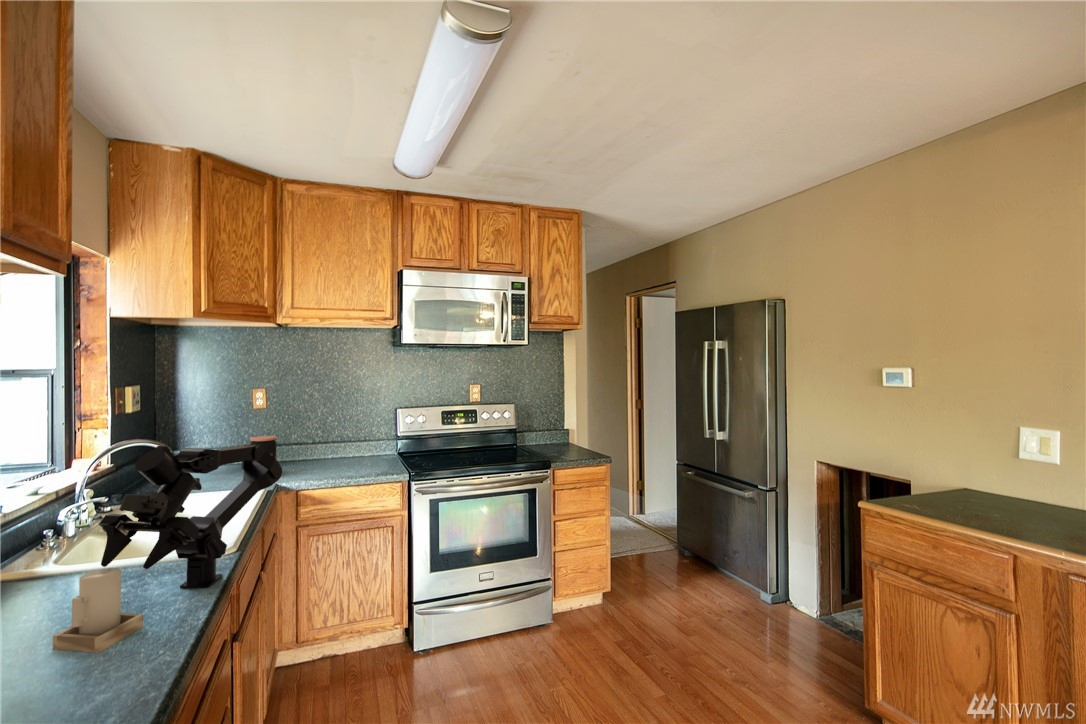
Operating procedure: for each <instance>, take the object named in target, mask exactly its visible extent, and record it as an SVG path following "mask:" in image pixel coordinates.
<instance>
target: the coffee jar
mask: <svg viewBox="0 0 1086 724" xmlns="http://www.w3.org/2000/svg"><path fill="white" fill-rule="evenodd" d="M249 439H250V440H249V441H250V444H249V445H259V446H261V447H263V449H264V450H265V452H267V453H268V454H270V455H271V456H273V457H274V458H275V459H276V460H277V441H276V440H277V436H275V435H263V436H262V435H259V436H252V437H250V438H249ZM252 461H256V460H252Z"/></svg>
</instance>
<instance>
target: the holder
mask: <svg viewBox="0 0 1086 724" xmlns="http://www.w3.org/2000/svg"><path fill="white" fill-rule="evenodd" d="M143 628H144V614H143V613H129V612H121V621H120V625H119V626H117V627H115V628H113V629H111V630H110V631H108V632H106V633H104V634H102V635H100V636H88V635H79V627H72V625H71V626H70V627H68V628H65V629H63V630H61V631H59V632H57V633H55V634H54V635H52V650H57V651H70V652H71V651H72V652H84V653H96V654H99V653H101V652H103V651H104V650H106V649H108V648H110V647H112V646H113V645H114V644H117V643H118V642H119V641H122V640H123V639H125V638H126V637H128V636H131V635H132V634H134V633H135V632H137V631H138V630H141V629H143Z"/></svg>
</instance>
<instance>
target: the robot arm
mask: <svg viewBox="0 0 1086 724" xmlns="http://www.w3.org/2000/svg"><path fill="white" fill-rule="evenodd" d="M252 460H256V461H252ZM237 463H241V469H242V470H243V475H242V480H241V482H240V483H238V484H237V485H236V486H235V487H234V488H233V489H232V490H231V491H230V492H229V493H228V494H227V495H226V496H225V497H223V499H221V500H220V502H218V504H217V505H216V506H214V507H213V508H212V509H211V510H210V511H209V513H207V514H206V515H204V516H196V515H192V516H191V517H190V518H189V517H188V516H177V514H179V513H180V514H182V513H183V512H184V511H185V509H186V508H185V507H184V506H183V505H184V503H185V501H186V500H187V499H188V497H189V495H190V494H191V492H192V491H201V490H202V489H203V487H202V484H201V480H200V479H201V478H199V477H194V476H193V475H192V474H202V475H203V474H209V473H211V472H214V471H217V470H218V469H219V467H222V466H227V465H231V464H237ZM134 468H135V470H136V471H138V472H139V473H140V474H141V475H142V476H143V477H144V478H145V479H146V480H147V481H149V482H150V483H151V484H152V485H154V486H156V487H158V486H160V487H159V488H158V490H157V491H152V492H151V494H148V495H147V494H146V495H145V494H130V493H129V494H125V495H124V496H123V499H122V501H121V504H120V507H119V511H120V512H124V511H126V512H131V513H132V514H131V516H132V517H133V518H136V519H137V520H133V519H131V518H130V517H129V515H127V514H124V513H108V514H106V515H104V517H102V519H101V521H100V522H99V523H98V525H99V526H100V527H101V528H102V531H104V532H105V533H106V543H105V548H104V551H103V555H102V558H101V562H100V565H101V567H103V568H106V567H107V566H109V564H111V563H112V562H113V561H114V560H115V559H116V558H117V557H118V556H119V554H121V553H122V551H124V549H126V547H127V546H129V544H130V543H132V541H133V540H132V537H134V536H135V535H136V534H137V532H148V533H149V532H150V533H151V532H154V533H159V534H158V538H157V539H158V540H157V541H156V543H155V544H154V546H153V548H152V549H151V551H150V553H149V554H148V556H147V557H146V559H145V562H144V564H143V566H142V568H143V569H145V570H148V569H150V568H151V567H153V566H154V565H155V564H157V563H158V562H159V561H161V560H162V559H164V558H165V557H166V556H168V555H169V554H171V553H172V552H174V551H175V552H176V556H177V558H178V560H179V559H184V560H185V559H186V560H187V561H186V562H187V563H186V581H184V582H183V583H182V584H181V583H180V585H179V588H180V589H185V588H186V589H188V588H189V589H194V588H196V589H197V588H209V587H211V586H212V585H213V584H215V583H216V582H218V581H219V580H220V579H221V578H222V577H223V574H221V573H219V574H218V573H217V559H220V558H222V556H223V555H225V554H226V551H227V548H228V544H227V543H226V542H225V541H223V540H222V536H223V529H224V527H226V525H228V523H230V522H231V520H232V519H234V517H235V516H236V515H237V514H238V513H239V512H240V511H241V510H242V509H244V507H245V506H246V504H248V502H250V501H251V500H252V498H254V497H255V496H256V494H258V493H259V492H260V491H262V490H264V489H267V488H270V487H271V486H274V484H276V483H277V482H278V481H279V480H280V478H281V477H282V475H283V467H282V466H281V464H280V462H278V460H277V458H276V459H275V458H274V457H273V456H271V455H270V454H268V453H267V452H265V450H264V449H263V447H261V446H259V445H250V444H244V445H239V446H233V447H224V448H223V447H222V448H217V449H216V448H215V449H213V448H198V447H197V448H196V447H195V448H193V447H192V448H191V447H185V448H182V449H180V450H179V453H176V454H174V453H172V451H171V449H170V448H169V447H168V446H167V445H157V446H156V447H155V449H153V450H150V451H148V452H146V453H144V454H143V455H142V456H140V457H138V458H137V460H136V462H135V465H134Z"/></svg>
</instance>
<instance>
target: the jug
mask: <svg viewBox="0 0 1086 724" xmlns="http://www.w3.org/2000/svg"><path fill="white" fill-rule="evenodd" d="M78 583H79V588H78V589H79V590H78V592H79V593H78V596H77V595H76V596H75V597H73V598H71V626H72V627H79V635H88V636H100V635H102V634H104V633H106V632H108V631H110V630H111V629H113V628H115V627H117V626H119V625H120V621H121V613H122V611H121V607H122V604H121V603H122V602H121V600H122V569H120V568H116V567H110V568H102V569H97V570H93V571H89V572H88V573H87V572H86V573H84V574H82V575H81V576H80V577H79V582H78Z"/></svg>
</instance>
